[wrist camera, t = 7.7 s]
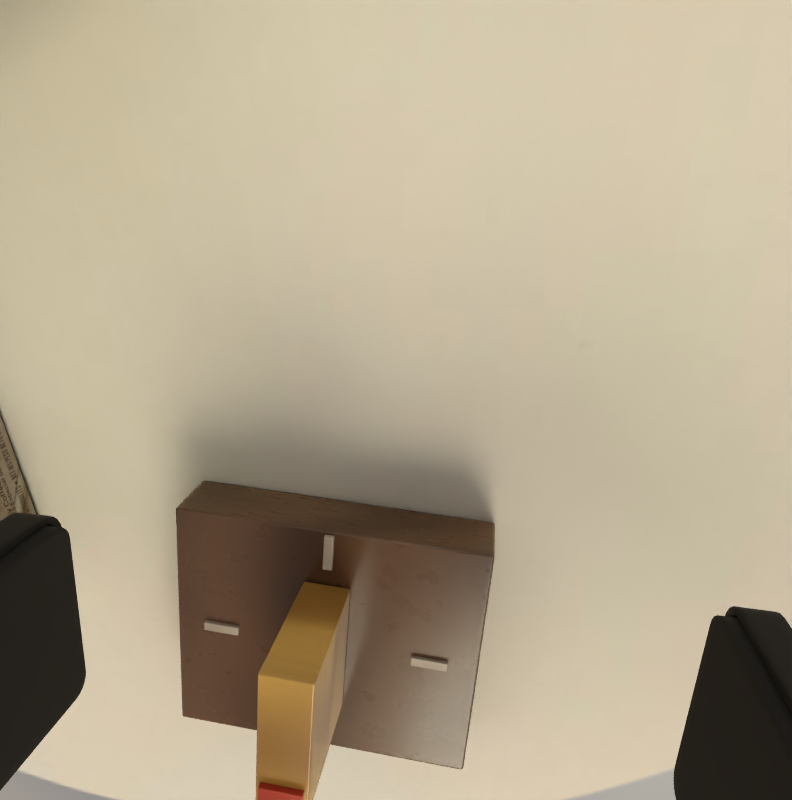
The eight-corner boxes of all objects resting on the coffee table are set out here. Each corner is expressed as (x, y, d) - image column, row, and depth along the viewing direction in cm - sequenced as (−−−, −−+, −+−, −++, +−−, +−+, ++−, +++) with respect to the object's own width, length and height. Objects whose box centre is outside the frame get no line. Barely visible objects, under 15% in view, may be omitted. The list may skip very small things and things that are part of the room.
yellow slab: (304, 580, 25) (254, 679, 20) (350, 588, 24) (312, 690, 19) (298, 696, 26) (252, 814, 21) (342, 705, 26) (305, 825, 21)
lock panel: (495, 522, 25) (494, 558, 23) (465, 722, 29) (462, 773, 26) (203, 479, 27) (173, 509, 24) (206, 675, 30) (180, 719, 28)
